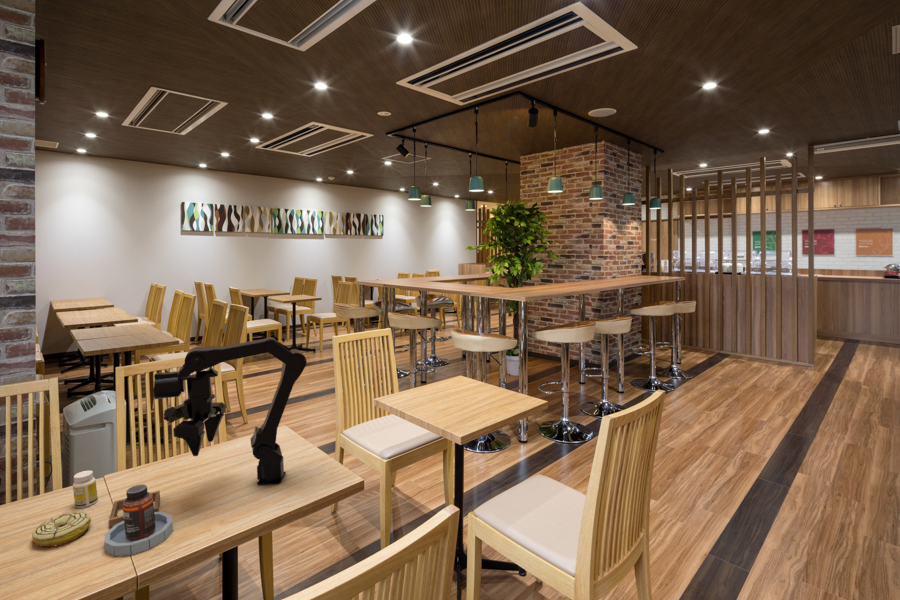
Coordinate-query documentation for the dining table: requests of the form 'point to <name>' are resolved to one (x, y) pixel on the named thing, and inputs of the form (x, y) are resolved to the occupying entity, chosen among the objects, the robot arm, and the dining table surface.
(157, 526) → the dish
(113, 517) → the tray
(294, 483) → the dining table surface
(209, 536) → the dining table surface
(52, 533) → the decorated donut
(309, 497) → the dining table surface
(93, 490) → the supplement bottle
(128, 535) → the supplement bottle
